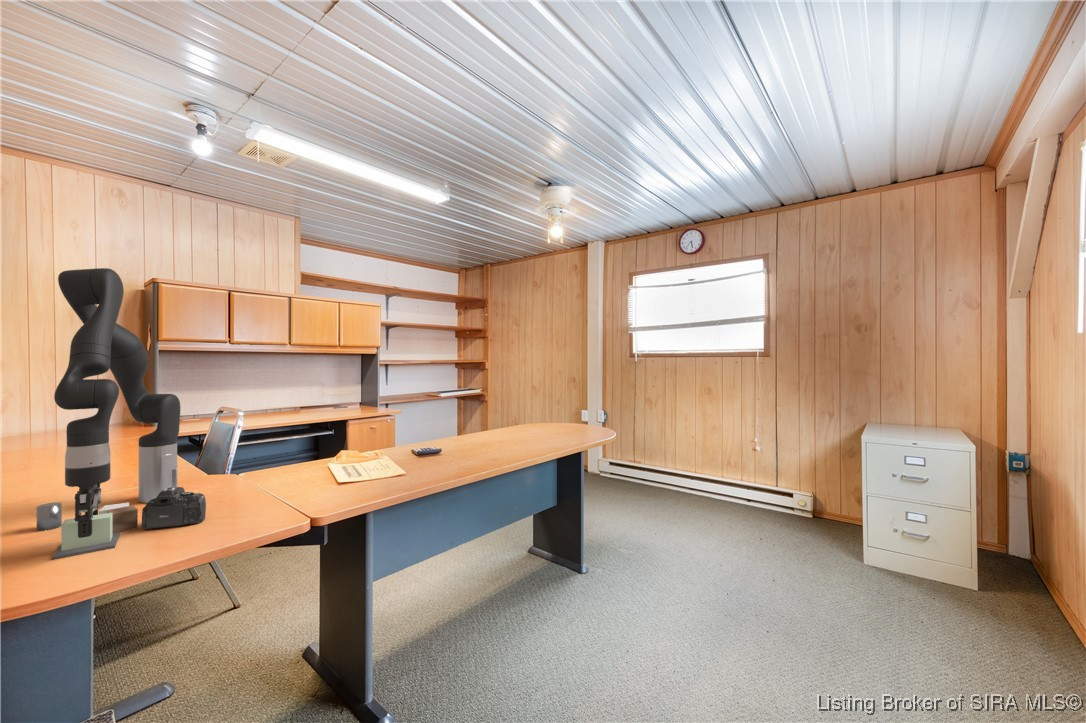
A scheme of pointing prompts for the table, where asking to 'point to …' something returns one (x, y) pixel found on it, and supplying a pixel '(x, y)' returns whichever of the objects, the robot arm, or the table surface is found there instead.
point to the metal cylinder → (49, 516)
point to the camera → (174, 509)
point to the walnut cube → (124, 518)
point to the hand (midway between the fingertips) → (88, 530)
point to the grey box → (112, 507)
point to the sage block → (99, 535)
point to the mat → (87, 548)
